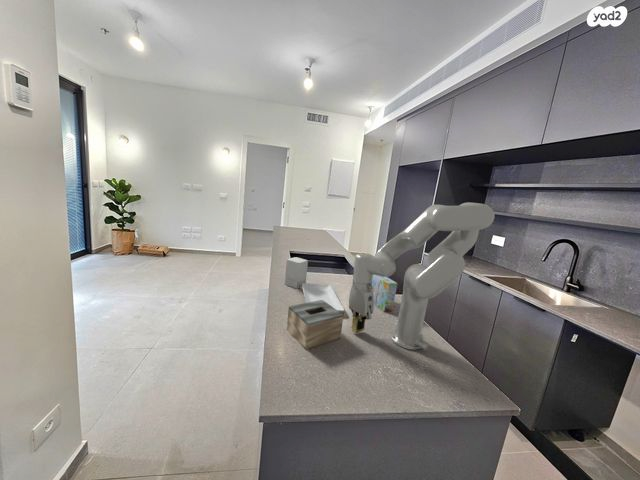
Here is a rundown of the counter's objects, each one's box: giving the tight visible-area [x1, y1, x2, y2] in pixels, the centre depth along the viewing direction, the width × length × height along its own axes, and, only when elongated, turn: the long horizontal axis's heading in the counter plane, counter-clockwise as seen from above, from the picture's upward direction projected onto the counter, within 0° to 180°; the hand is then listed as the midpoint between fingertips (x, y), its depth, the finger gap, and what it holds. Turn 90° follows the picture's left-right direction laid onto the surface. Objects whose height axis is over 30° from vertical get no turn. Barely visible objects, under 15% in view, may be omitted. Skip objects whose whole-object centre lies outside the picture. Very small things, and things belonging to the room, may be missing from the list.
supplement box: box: [284, 256, 309, 289], centre depth 150 cm, size 9×9×15 cm
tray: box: [301, 282, 345, 313], centre depth 134 cm, size 17×31×4 cm, turn 10°
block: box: [351, 314, 366, 334], centre depth 108 cm, size 2×5×6 cm, turn 125°
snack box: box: [372, 274, 399, 313], centre depth 139 cm, size 21×6×15 cm, turn 22°
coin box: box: [286, 300, 344, 350], centre depth 103 cm, size 14×16×10 cm
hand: (358, 327), depth 108 cm, fingers closed on block, 1 cm apart
